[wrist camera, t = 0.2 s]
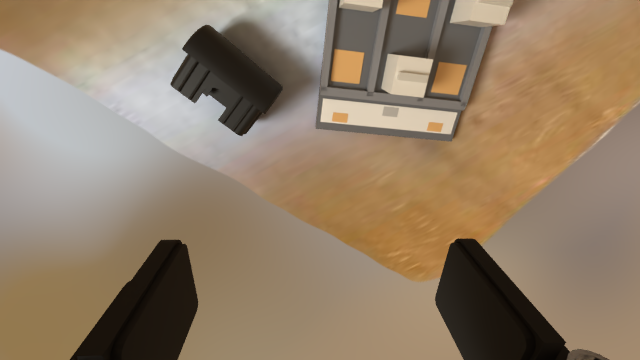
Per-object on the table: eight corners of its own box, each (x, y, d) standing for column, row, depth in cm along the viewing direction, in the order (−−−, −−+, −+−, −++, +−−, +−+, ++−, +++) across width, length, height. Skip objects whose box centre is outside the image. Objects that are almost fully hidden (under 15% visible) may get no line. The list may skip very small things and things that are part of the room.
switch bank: (335, -58, 30) (337, -64, 29) (501, -32, 32) (512, -35, 31) (315, 126, 39) (316, 130, 37) (448, 139, 41) (454, 143, 39)
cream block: (460, -19, 31) (487, -29, 27) (493, -14, 32) (524, -23, 27) (449, 22, 33) (472, 19, 29) (480, 27, 33) (508, 24, 29)
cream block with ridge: (387, 53, 34) (400, 55, 30) (418, 57, 35) (435, 59, 30) (381, 88, 36) (392, 94, 31) (410, 91, 36) (425, 98, 32)
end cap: (285, 83, 36) (281, 92, 30) (253, 125, 39) (243, 141, 32) (217, 25, 33) (197, 21, 27) (185, 74, 35) (161, 81, 29)
